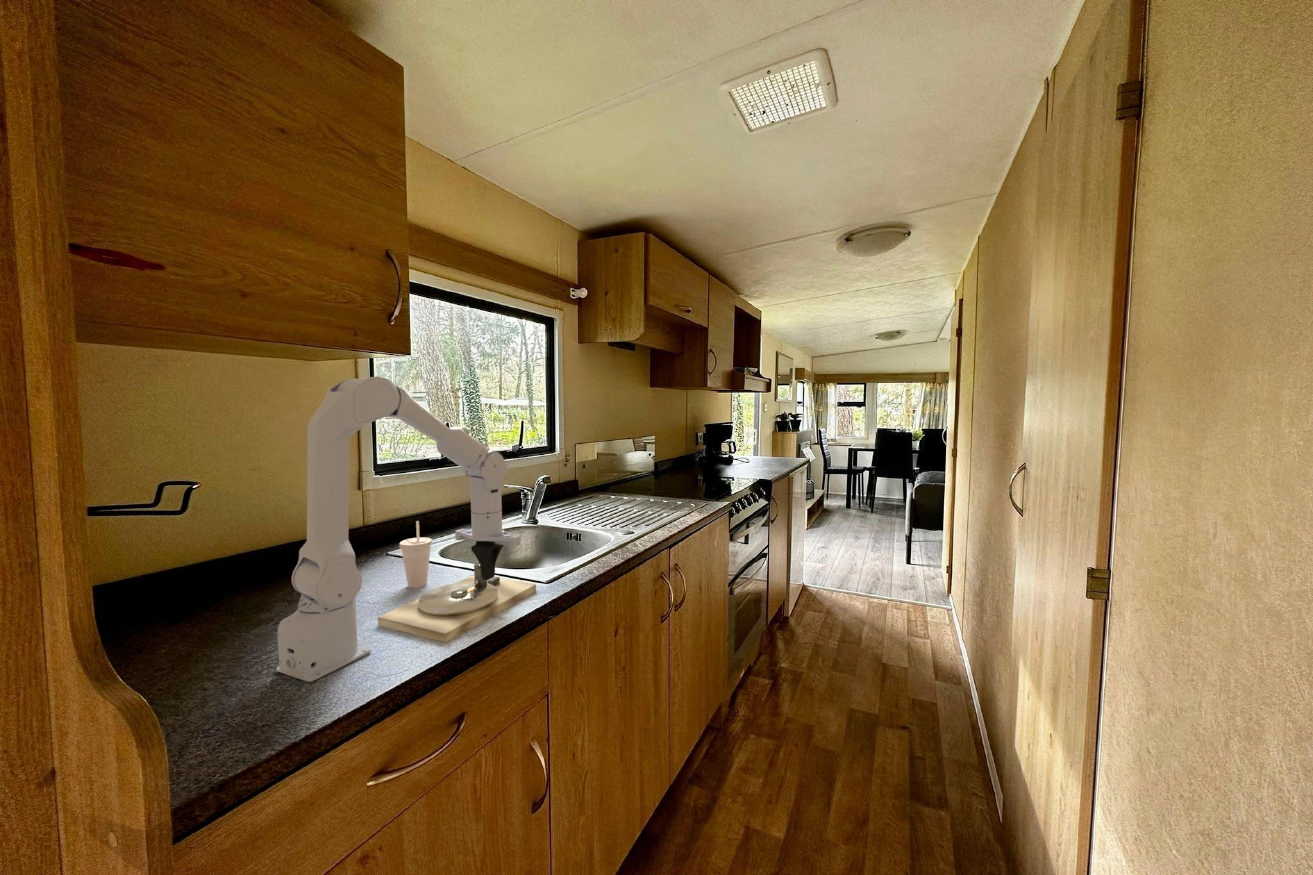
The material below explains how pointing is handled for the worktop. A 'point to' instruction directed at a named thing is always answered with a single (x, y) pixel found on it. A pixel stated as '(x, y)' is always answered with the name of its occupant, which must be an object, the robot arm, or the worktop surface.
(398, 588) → the worktop surface
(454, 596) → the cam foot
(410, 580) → the smoothie
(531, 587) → the stand plate
